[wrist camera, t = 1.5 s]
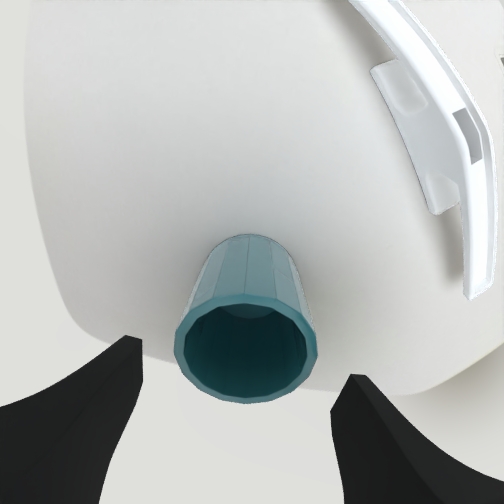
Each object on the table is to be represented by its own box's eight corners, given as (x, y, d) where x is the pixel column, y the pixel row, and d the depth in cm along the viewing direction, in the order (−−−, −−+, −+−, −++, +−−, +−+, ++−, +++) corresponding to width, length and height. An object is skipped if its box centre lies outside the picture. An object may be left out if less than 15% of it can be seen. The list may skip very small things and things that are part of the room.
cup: (215, 324, 18) (197, 408, 12) (192, 243, 17) (154, 305, 10) (301, 310, 18) (321, 393, 11) (289, 225, 16) (309, 281, 10)
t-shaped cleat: (372, -19, 11) (407, -61, 6) (487, 256, 17) (534, 288, 11) (318, -6, 12) (339, -56, 6) (447, 283, 17) (492, 324, 12)
